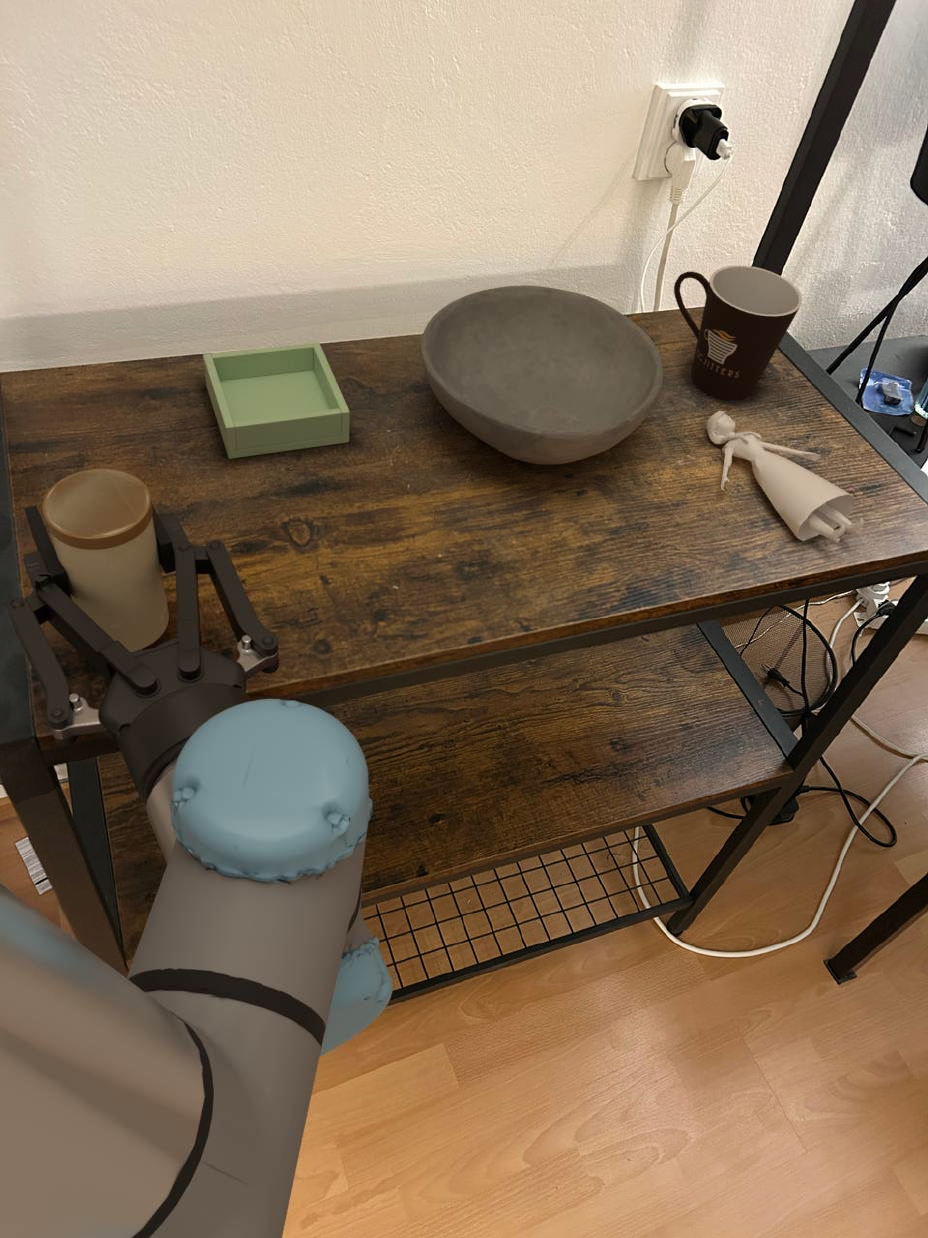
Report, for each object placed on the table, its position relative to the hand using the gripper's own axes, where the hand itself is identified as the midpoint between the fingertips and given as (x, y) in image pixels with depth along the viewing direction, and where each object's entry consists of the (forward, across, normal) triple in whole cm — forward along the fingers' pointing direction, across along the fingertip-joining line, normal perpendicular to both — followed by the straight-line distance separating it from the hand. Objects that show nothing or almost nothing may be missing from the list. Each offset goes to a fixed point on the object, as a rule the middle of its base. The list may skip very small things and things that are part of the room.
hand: (86, 508), depth 65 cm
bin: (+14, +19, -8) cm, 25 cm away
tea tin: (-5, 0, -6) cm, 8 cm away
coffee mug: (+4, +62, -8) cm, 63 cm away
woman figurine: (-12, +55, -8) cm, 57 cm away
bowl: (+4, +40, -8) cm, 41 cm away
